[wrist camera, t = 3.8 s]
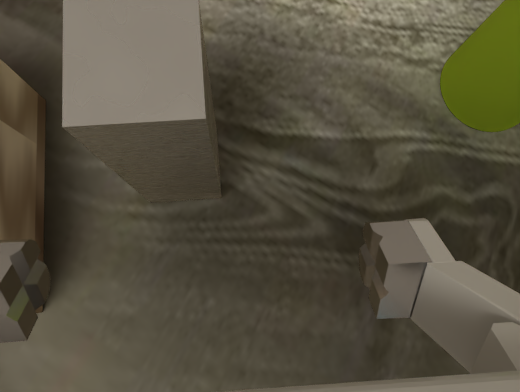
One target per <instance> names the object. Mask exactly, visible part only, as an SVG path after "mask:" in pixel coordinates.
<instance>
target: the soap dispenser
mask: <svg viewBox="0 0 520 392" xmlns="http://www.w3.org/2000/svg"><path fill="white" fill-rule="evenodd" d="M440 87H441V93H442V96H443V99H444V101H445V103H446V105H447V107H448V108H449V110H450V111H451V112H452V114H453V115H454V116H455V117H456V118H457V119H459V120H460V121H461V122H463V123H464V124H466V125H467V126H469V127H471V128H474V129H477V130H480V131H486V132H498V131H503V130H507V129H509V128H511V127H513V126H515V125H517V124H519V123H520V0H505V1H504V2H503V3H502V4H501V5H500V6H499V7H498V8H497V9H496V10H495V11H494V12H493V13H492V14H491V15H490V16H489V17H488V18H487V19H486V20H485V21H484V22H483V23H482V24H481V25H480V26H479V28H478V29H477V30H476V31H475V32H474V33H473V34H472V35H471V36H470V37H469V38H468V39H467V40H466V41H465V42H464V43H463V44H462V45H461V46H460V47H459V48H458V49H457V50H456V51H455V52H454V53H453V54H452V55H451V57H450V58H449V59H448V60H447V62H446V63H445V65H444V67H443V70H442V73H441V78H440Z"/></svg>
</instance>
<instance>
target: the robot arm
mask: <svg viewBox="0 0 520 392" xmlns="http://www.w3.org/2000/svg"><path fill="white" fill-rule="evenodd" d="M362 236H363V238H364V241H365V244H364V245H363V246H362V247H361V248H360V251H359V271H360V275H361V279H362V281H363V284H364V285H365V286H367V287H368V288H369V289H370V292H369V297H368V298H369V301H370V303H371V306H372V308H373V311H374V314H375V316H376V319H385V318H411V320H412V321H413V322H414V323H415V324H416V325H418V326H419V327H420V328H421V329H422V330H423V331H424V332H425V333H426V334H428V335H429V336H430V337H431V338H432V339H433V340H434V341H435V342H436V343H437V344H439V345H440V346H441V347H442V348H443V349H444V350H445V351H446V352H447V353H449V354H450V355H451V356H452V357H453V358H454V359H455V360H456V361H457V362H459V363H460V364H461V365H462V366H463V367H464V368H465V369H466V370H467V371H468V372H470V374H462V375H447V376H433V377H418V378H404V379H389V380H375V381H360V382H346V383H332V384H317V385H303V386H289V387H275V388H260V389H246V390H232V391H217V392H520V294H519V293H518V292H516V291H514V290H512V289H511V288H509V287H507V286H505V285H504V284H502V283H500V282H498V281H496V280H495V279H493V278H491V277H489V276H488V275H486V274H484V273H482V272H481V271H479V270H477V269H475V268H473V267H472V266H470V265H468V264H466V263H465V262H463V261H455V259H454V258H453V256H452V255H451V253H450V252H449V250H448V249H447V247H446V246H445V244H444V243H443V241H442V240H441V238H440V237H439V236H438V234H437V233H436V231H435V230H434V228H433V227H432V225H431V224H430V222H429V221H428V220H427V219H425V218H418V219H405V220H397V221H379V222H366V223H365V225H364V227H363V232H362ZM40 252H41V251H40V249H39V247H38V244H37V242H36V241H34V240H31V239H19V240H0V343H5V342H16V341H27V340H28V337H29V335H30V333H31V331H32V329H33V327H34V325H35V323H36V321H37V319H38V316H37V314H36V312H35V310H36V309H37V308H39V307H40V306H41V305H43V304H44V303H45V302H46V299H47V297H48V295H49V292H50V284H51V279H50V272H49V270H48V267H47V265H46V264H44V263H43V262H41V261H40V260H39V259H37V258H38V256H39V254H40Z"/></svg>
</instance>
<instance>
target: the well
mask: <svg viewBox="0 0 520 392" xmlns="http://www.w3.org/2000/svg"><path fill="white" fill-rule="evenodd" d="M45 124H46V100H45V99H43V98H42V97H41V96H40V95H39V94H38V93H37V92H36V91H35V90H34V89H33V88H31V87H30V86H29V85H28V84H27V83H26V82H25V81H24V80H23V79H22V78H21V77H20V76H18V75H17V74H16V73H15V72H14V71H13V70H12V69H11V68H10V67H9V66H8V65H6V64H5V63H4V62H3V61H2V60H1V59H0V240H19V239H31V240H34V241H36V242H37V244H38V247H39V249H40V251H41V252H40V254H39V256H38V258H37V259H39V260H40V261H41V262H43V252H44V188H45ZM35 312H36V313H40V312H43V305H41V306H40V307H39V308H37V309H36V310H35Z"/></svg>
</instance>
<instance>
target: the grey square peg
mask: <svg viewBox="0 0 520 392" xmlns="http://www.w3.org/2000/svg"><path fill="white" fill-rule="evenodd" d="M62 127H63V128H64V129H65V130H66V131H67V132H69V133H70V134H71V135H72V136H73V137H74V138H76V139H77V140H78V141H79V142H80V143H81V144H83V145H84V146H85V147H86V148H87V149H88V150H90V151H91V152H92V153H93V154H94V155H95V156H97V157H98V158H99V159H100V160H101V161H102V162H104V163H105V164H106V165H107V166H108V167H109V168H111V169H112V170H113V171H114V172H115V173H116V174H118V175H119V176H120V177H121V178H122V179H123V180H125V181H126V182H127V183H128V184H129V185H130V186H132V187H133V188H134V189H135V190H136V191H137V192H139V193H140V194H141V195H142V196H143V197H144V198H146V199H147V200H148V201H149V202H150V203H158V202H172V201H186V200H199V199H213V198H222V196H221V181H220V166H219V151H218V137H217V127H216V120H215V113H214V105H213V98H212V91H211V84H210V77H209V70H208V62H207V55H206V48H205V41H204V34H203V27H202V20H201V12H200V5H199V0H63V90H62Z"/></svg>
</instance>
